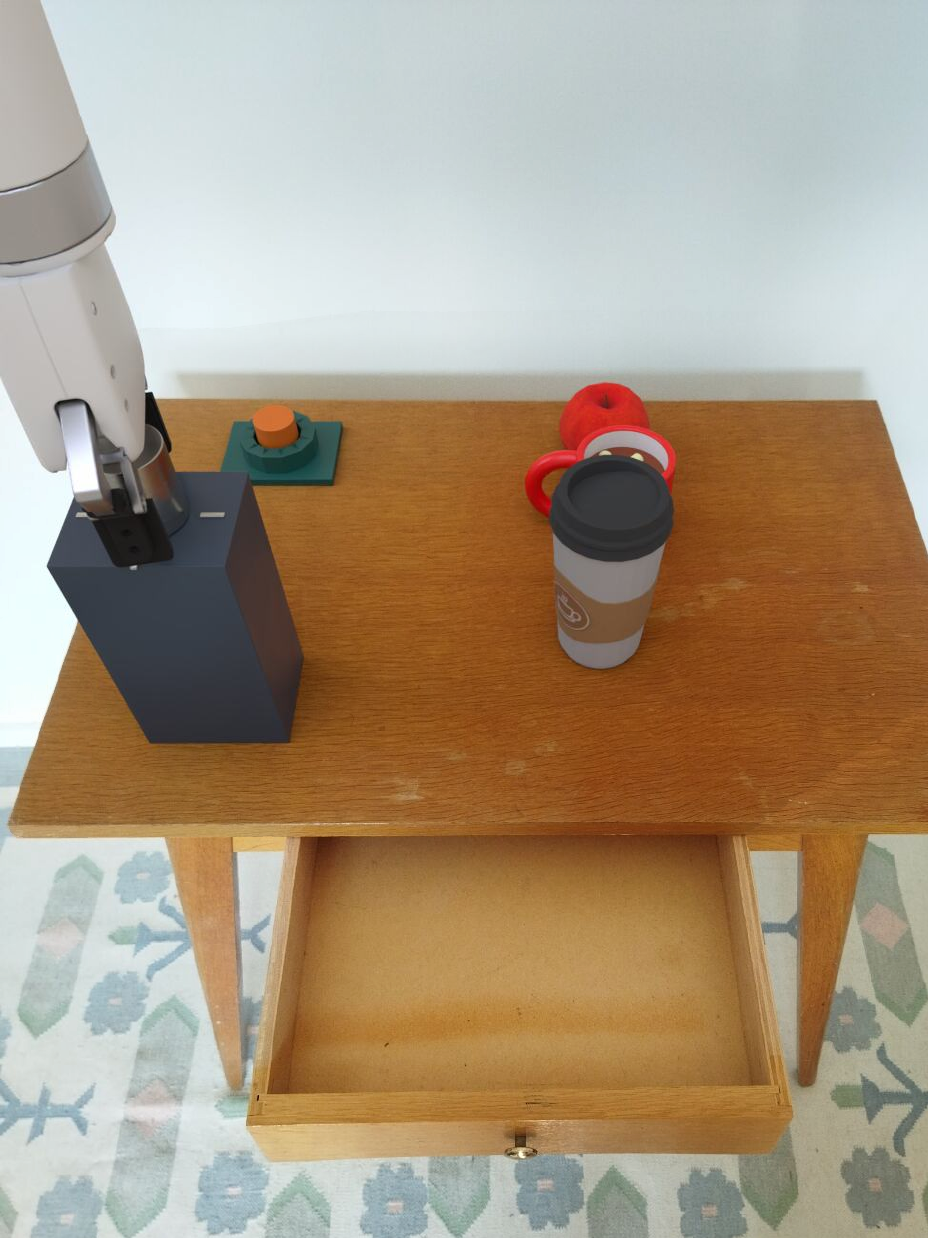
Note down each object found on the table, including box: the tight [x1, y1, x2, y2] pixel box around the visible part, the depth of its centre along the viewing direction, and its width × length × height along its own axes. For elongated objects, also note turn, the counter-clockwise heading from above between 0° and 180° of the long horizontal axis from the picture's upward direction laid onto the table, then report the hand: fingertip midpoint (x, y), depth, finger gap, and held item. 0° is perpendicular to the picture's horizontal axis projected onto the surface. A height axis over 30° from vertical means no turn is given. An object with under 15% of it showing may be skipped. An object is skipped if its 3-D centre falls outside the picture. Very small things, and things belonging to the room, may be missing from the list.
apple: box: [558, 381, 651, 451], centre depth 83 cm, size 8×8×7 cm
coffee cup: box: [548, 455, 675, 670], centre depth 68 cm, size 8×8×15 cm
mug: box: [524, 425, 677, 518], centre depth 78 cm, size 8×12×8 cm, turn 85°
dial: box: [98, 424, 189, 536], centre depth 53 cm, size 4×4×5 cm
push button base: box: [219, 410, 344, 486], centre depth 85 cm, size 10×8×2 cm
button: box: [252, 404, 299, 448], centre depth 83 cm, size 4×4×2 cm
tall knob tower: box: [46, 471, 305, 744], centre depth 63 cm, size 10×9×18 cm
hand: (145, 504), depth 55 cm, fingers open, 8 cm apart
